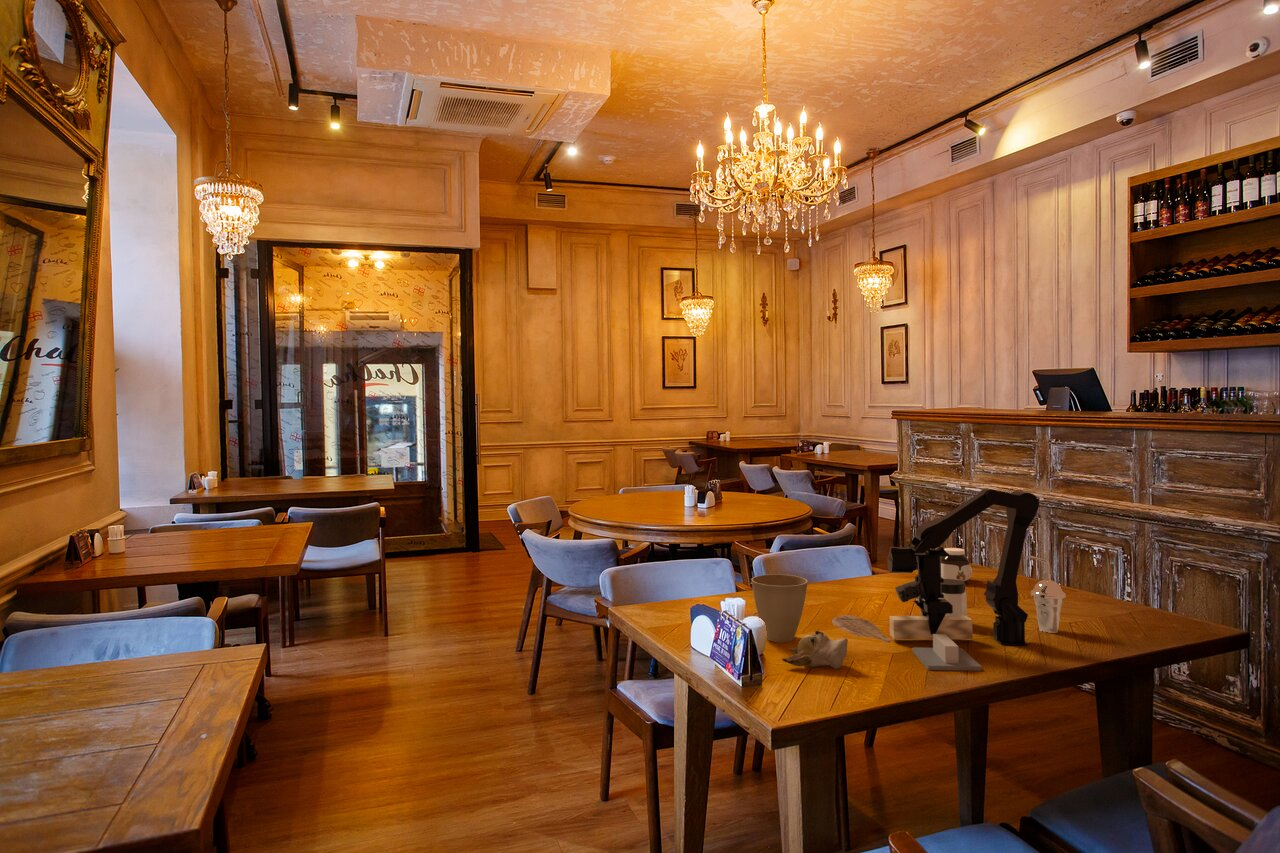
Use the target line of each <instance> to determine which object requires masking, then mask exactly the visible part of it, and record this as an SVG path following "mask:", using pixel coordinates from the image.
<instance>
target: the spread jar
mask: <svg viewBox="0 0 1280 853" xmlns="http://www.w3.org/2000/svg"><path fill="white" fill-rule="evenodd" d="M944 550H945V551H946V552H947V553H948V554H949V556H948V557H941V577H942V578H943V579H955V580H960V581H963V582H964V583H965V584H966V583H967V582H969V581H970V579H971V576H972V574H973V569H972V567H971V563H970V561H969V559H968V557H967V556H966V555H965V553H966V552H965V549H963V548H959V547H945V548H944Z"/></svg>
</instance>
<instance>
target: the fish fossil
mask: <svg viewBox="0 0 1280 853" xmlns="http://www.w3.org/2000/svg"><path fill="white" fill-rule="evenodd" d="M831 624H832V625H833V626H835V627H838V628H839V629H840V630H843V631H845V632H847V633H849V634H851V635H854V636H856V637H859V638H863V637H866V638H873V639H876V640H880V641H881V642H883V643H891V641H892V640H891V639H890V638H889V637H888V636H887V635H885V634H884V633H883V632H882V630H880V628H878V627H877V626H876V625H875V624H874V623H873V622H871V621H870V620H867V619H863V618H862V617H859V616H855V615H851V614H849V615H848V614H843V615H840V616H836V617H833V619H832V620H831ZM862 636H863V637H862Z"/></svg>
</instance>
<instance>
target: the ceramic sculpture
mask: <svg viewBox="0 0 1280 853" xmlns="http://www.w3.org/2000/svg"><path fill="white" fill-rule="evenodd" d="M848 642H849V641H848V638H847V637H846V638H840V639H837V640H836V639H830V638H829V637H828V636H827V634H825V633H824V632H822V631H820V630H816V631H815V632H814V634H807V635H805V636H803V637H802V638H800V641H798V644H797V647H796V648H795V647H789V648H788V649H789V651H790V652H791V653H793V654H792V655H790V656H788V657H785V658H781V661H783V662H785V663H788V664H789V665H792V666H794V667H795V666H796V667H804V666H808V667H811V668H812V667H823V666H830V667H832V668H833V669H835V670H839V669H840V668H842V666H843V664H844V660H845V657H846V656H847V653H848Z"/></svg>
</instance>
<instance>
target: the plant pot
mask: <svg viewBox="0 0 1280 853" xmlns="http://www.w3.org/2000/svg"><path fill="white" fill-rule="evenodd" d="M750 579H751V584H752V585H751V587H752V593H753V599H754V604H755V607H756V608H755V609H756V612H757V616H758V619H759V618H761V619H762V620H763V621H764V622H765V625H766V631H767V639H766V640H768V642H769V641H770V642H774V643H789V642H792V641H794V639H795V637H796V633H797V630H798V628H799V626H800V622H801V618H802V614H803V611H804V606H805V602H806V598H807V597H806V596H807V591H808V590H807V589H808V583H809V582H808V579H806V578H804V577H801V576H797V575H792V574H779V573H777V574H775V573H771V574H770V573H769V574H761V575H756V576H753V577H752V578H750Z"/></svg>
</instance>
